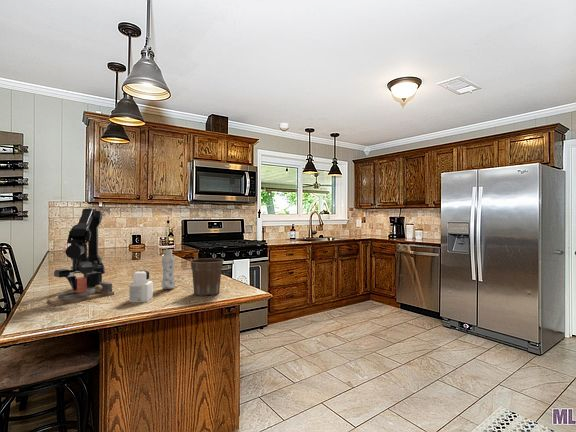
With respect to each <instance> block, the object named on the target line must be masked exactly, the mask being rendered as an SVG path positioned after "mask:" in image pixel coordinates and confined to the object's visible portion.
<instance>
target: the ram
mask: <svg viewBox="0 0 576 432" xmlns="http://www.w3.org/2000/svg"><path fill="white" fill-rule="evenodd" d="M75 286H76V289H75V291H73V290H72V292H73V295H74V294H79V293H84V292H89V294H94V293H95V289H94V287H89V288H88V286H87V278H86V277H84V276H76V278H75Z"/></svg>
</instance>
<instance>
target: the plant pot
mask: <svg viewBox="0 0 576 432" xmlns="http://www.w3.org/2000/svg"><path fill="white" fill-rule="evenodd" d="M224 261H225V260H224V259H223V258H206V257H205V258H195V259H190V260H189V262H190V268H191V272H192V285H193V286H192V287H193V294H194V295H197V296H201V297H202V296H204V297H205V296H208V295H210V296H214V295H218V294H219V293H220V292H221V291H220V287H221V278H222V269H223V264H224Z"/></svg>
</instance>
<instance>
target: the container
mask: <svg viewBox="0 0 576 432" xmlns="http://www.w3.org/2000/svg"><path fill="white" fill-rule="evenodd" d="M132 274H133V275H132V277H133V279H132V280H133V283H130V284H129V285H128V286H129V293H128V294H129V298H128V299H129V303H147V302H149V301H150V300H152V299H153V297H154V294H153V293H154V292H153V288H154V287H153V285H154V283H153V281H152V280H150V272H149V271H148V270H142V269H141V270H136V271H133V273H132Z"/></svg>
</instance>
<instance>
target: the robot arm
mask: <svg viewBox="0 0 576 432" xmlns="http://www.w3.org/2000/svg"><path fill="white" fill-rule="evenodd" d="M102 220H103V213H102V211H100V210H97V209H94V208H83V209H82V212H81V216H80V218H79V220H78V223H76V224H75V225H73V226H71V227H72V228H71V229H69V231H68V232H69V233H68V237H67V241H66V244H70V245H69V246H68V247H66V249H65V255H66V257H68V258H70V259H71V261H72V263H71V264H72V265H71V267H70V268H71V269H66V268H61V269H60V268H58V269H55V270H54V272H53V277H56V278H59V279H60V278H66V279H67V282H69V285H70V287H71V289H72V292H73V291H75V289H76V286H75V278H76V277H77V276H76V275H75V274H82V275H83V277H86V278H87V287H88V288H94V287H95V286H96V285H99V282H103V275H105V274H106V272H105V271H106V270H105V265H104V263H103V260H102V258H101V256H100V255H99V227H100V225H101V223H102Z"/></svg>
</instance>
